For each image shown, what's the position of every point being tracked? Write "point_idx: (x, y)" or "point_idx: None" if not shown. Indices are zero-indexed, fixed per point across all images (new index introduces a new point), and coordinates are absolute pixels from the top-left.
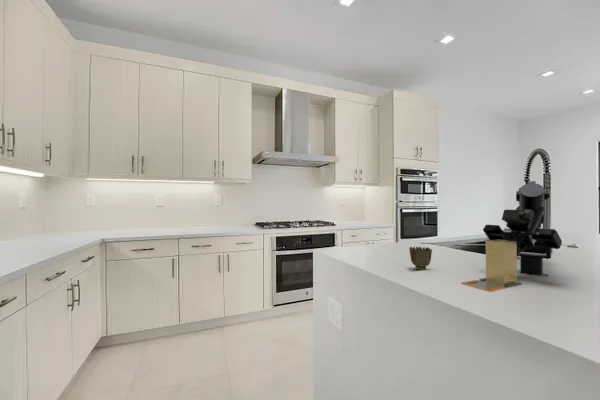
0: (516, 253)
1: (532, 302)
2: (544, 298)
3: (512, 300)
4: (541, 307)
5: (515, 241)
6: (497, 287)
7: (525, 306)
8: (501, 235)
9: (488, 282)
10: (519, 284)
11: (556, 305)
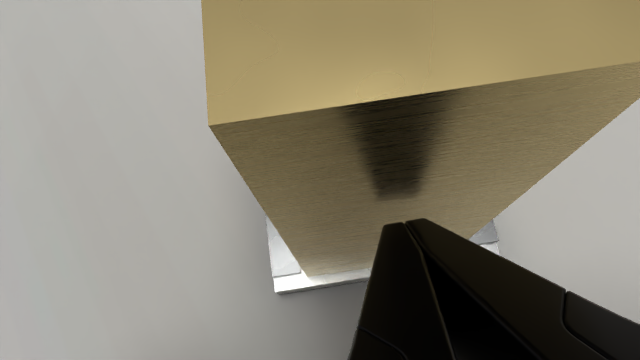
0: (266, 210)
1: (90, 81)
2: (91, 204)
3: (152, 21)
4: (35, 56)
5: (224, 107)
6: None
7: (78, 5)
8: None
9: None
10: (269, 250)
11: (8, 148)
